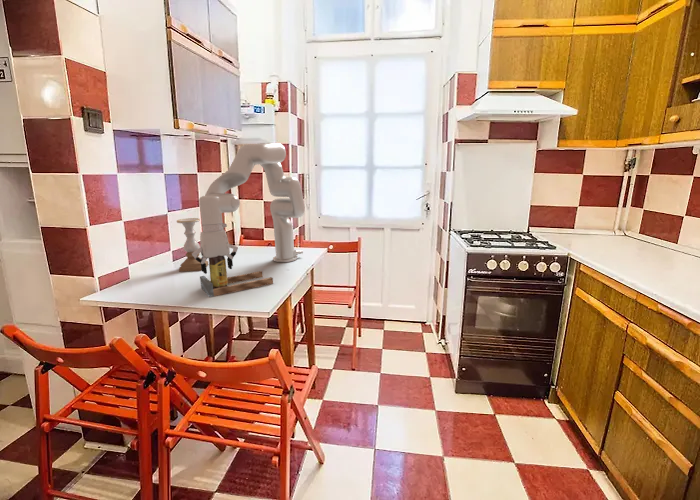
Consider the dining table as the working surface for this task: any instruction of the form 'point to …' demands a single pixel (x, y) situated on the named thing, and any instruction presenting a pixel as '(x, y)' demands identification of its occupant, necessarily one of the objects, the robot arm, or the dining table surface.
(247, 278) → the wooden u-shaped frame
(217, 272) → the sauce bottle
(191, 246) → the candle holder
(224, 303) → the dining table surface
